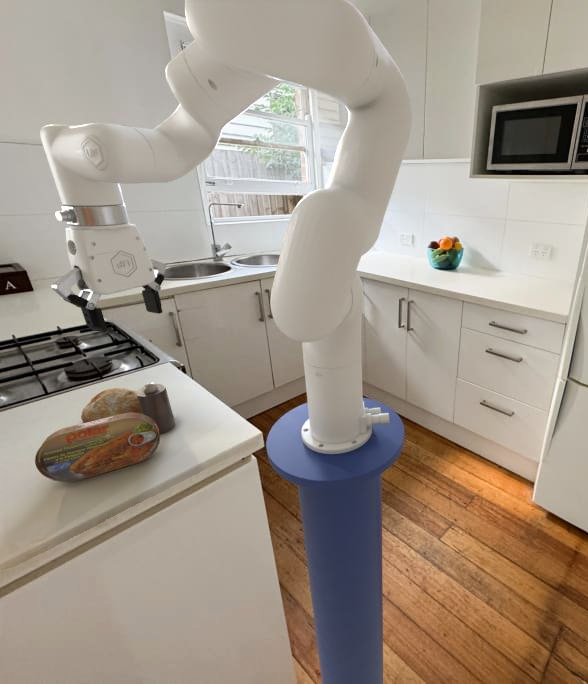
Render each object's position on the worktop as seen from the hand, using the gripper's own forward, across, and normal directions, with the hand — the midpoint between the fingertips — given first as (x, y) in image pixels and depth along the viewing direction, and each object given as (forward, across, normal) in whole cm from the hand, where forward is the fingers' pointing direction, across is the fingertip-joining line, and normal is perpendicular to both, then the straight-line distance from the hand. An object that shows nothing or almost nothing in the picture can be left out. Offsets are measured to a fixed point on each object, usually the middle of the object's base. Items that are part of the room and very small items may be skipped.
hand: (128, 320), depth 66 cm
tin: (+20, -12, -6) cm, 24 cm away
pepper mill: (+20, -2, -4) cm, 20 cm away
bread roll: (+20, -3, +6) cm, 21 cm away
